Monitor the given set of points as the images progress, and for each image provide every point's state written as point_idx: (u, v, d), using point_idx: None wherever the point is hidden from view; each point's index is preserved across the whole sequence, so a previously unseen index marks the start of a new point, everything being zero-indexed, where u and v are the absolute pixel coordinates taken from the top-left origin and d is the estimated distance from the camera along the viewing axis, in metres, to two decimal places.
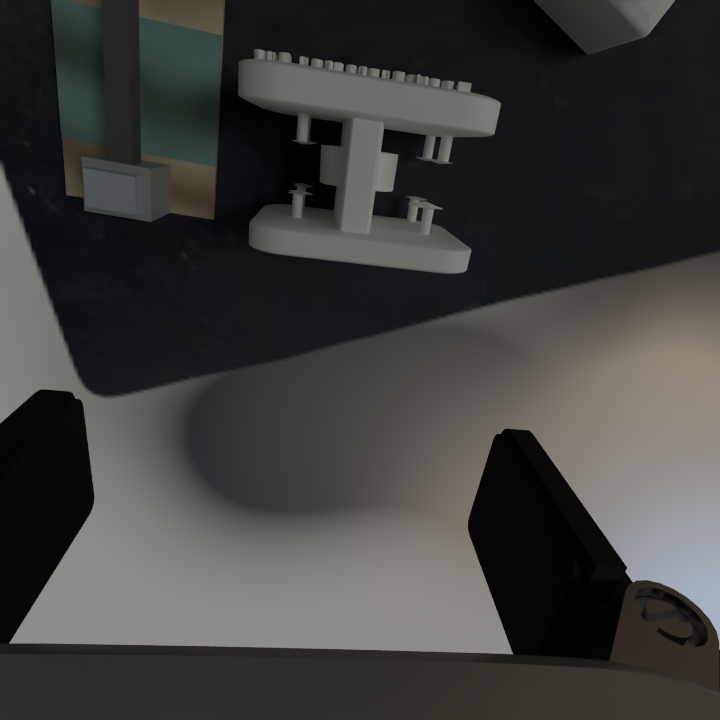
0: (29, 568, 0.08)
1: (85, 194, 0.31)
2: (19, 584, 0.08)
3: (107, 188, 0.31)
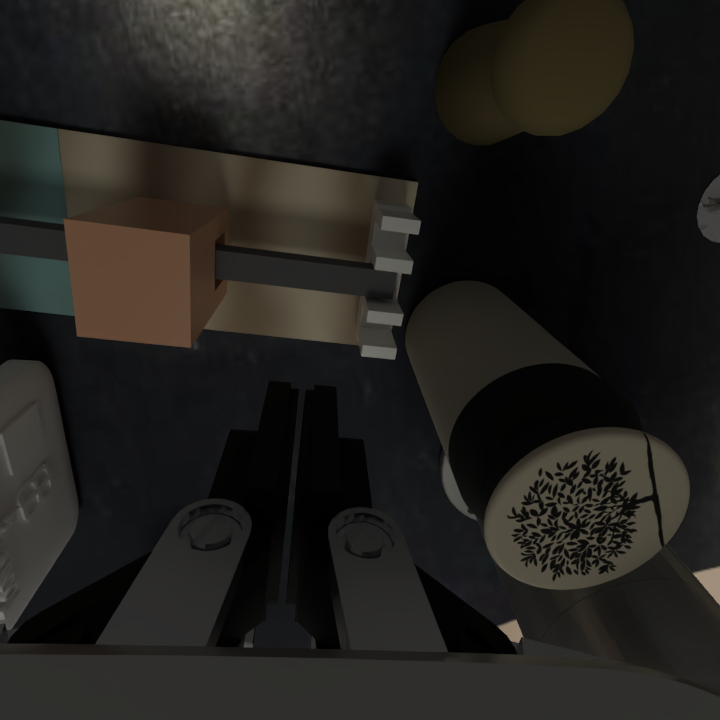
0: None
1: None
2: None
3: None
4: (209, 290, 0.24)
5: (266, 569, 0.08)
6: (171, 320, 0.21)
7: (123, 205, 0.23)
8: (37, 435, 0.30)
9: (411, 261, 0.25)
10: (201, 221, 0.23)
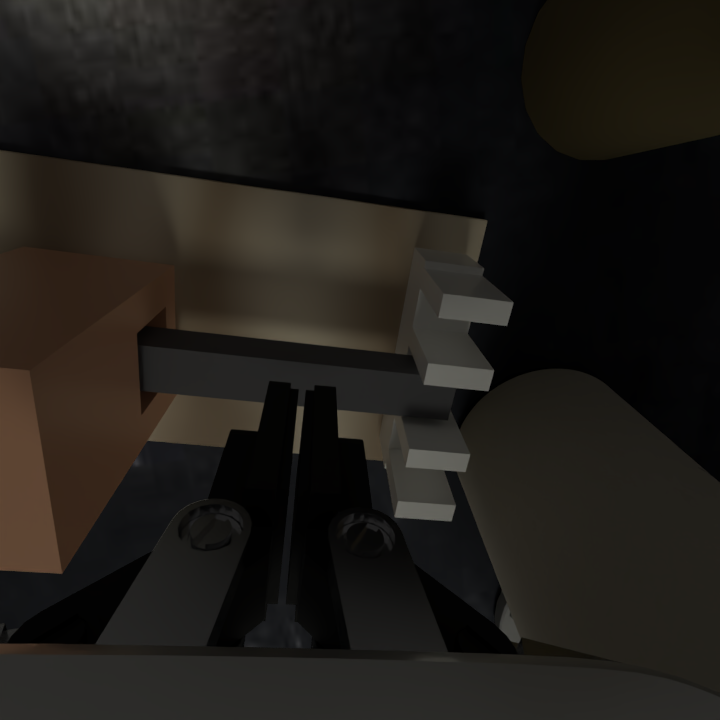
0: None
1: None
2: None
3: None
4: (124, 425, 0.13)
5: (266, 569, 0.08)
6: (14, 528, 0.10)
7: None
8: None
9: (490, 370, 0.14)
10: (96, 310, 0.12)
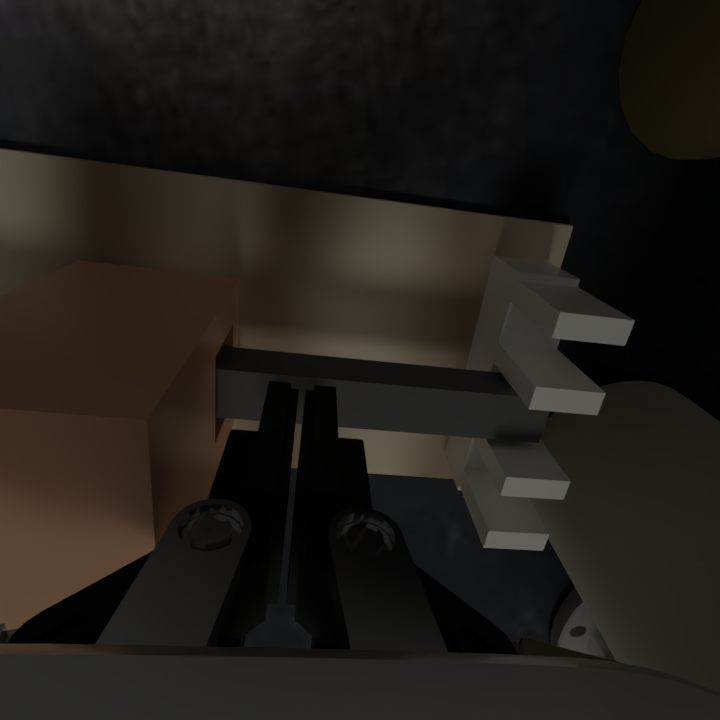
0: None
1: None
2: None
3: None
4: (204, 458, 0.12)
5: (266, 569, 0.08)
6: None
7: (25, 296, 0.11)
8: None
9: (601, 393, 0.13)
10: (185, 337, 0.10)
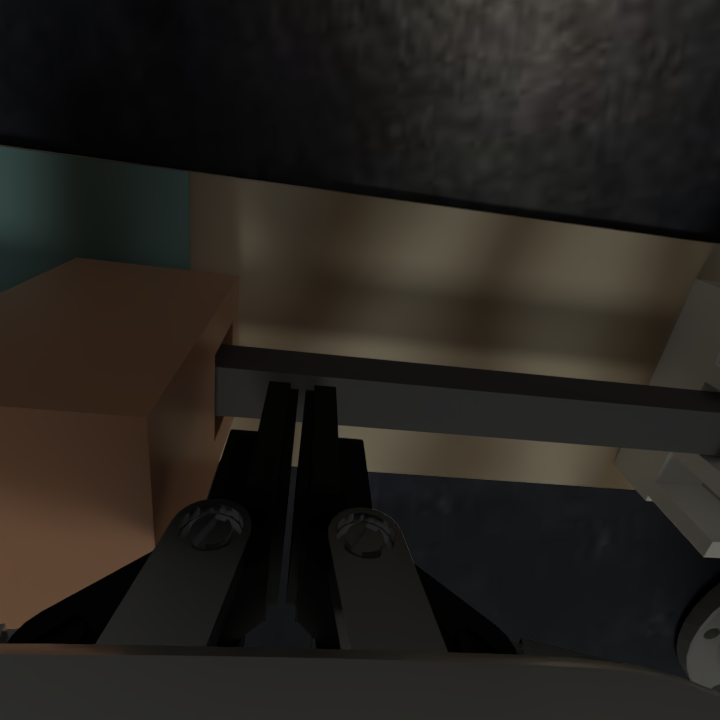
0: None
1: None
2: None
3: None
4: (204, 456, 0.12)
5: (266, 569, 0.08)
6: None
7: (24, 293, 0.11)
8: None
9: None
10: (184, 335, 0.10)
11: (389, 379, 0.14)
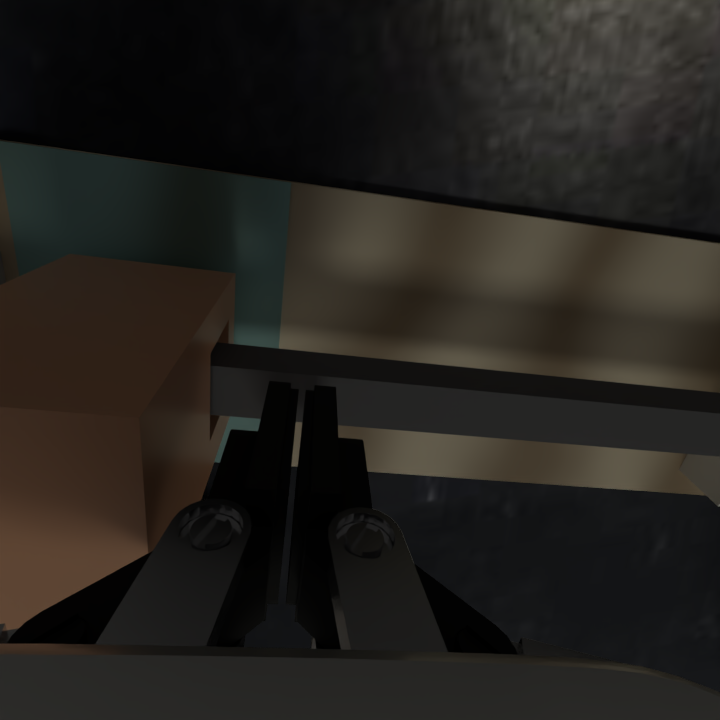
0: None
1: None
2: None
3: None
4: (199, 456, 0.12)
5: (266, 569, 0.08)
6: None
7: (15, 290, 0.11)
8: None
9: None
10: (179, 333, 0.10)
11: (492, 388, 0.14)
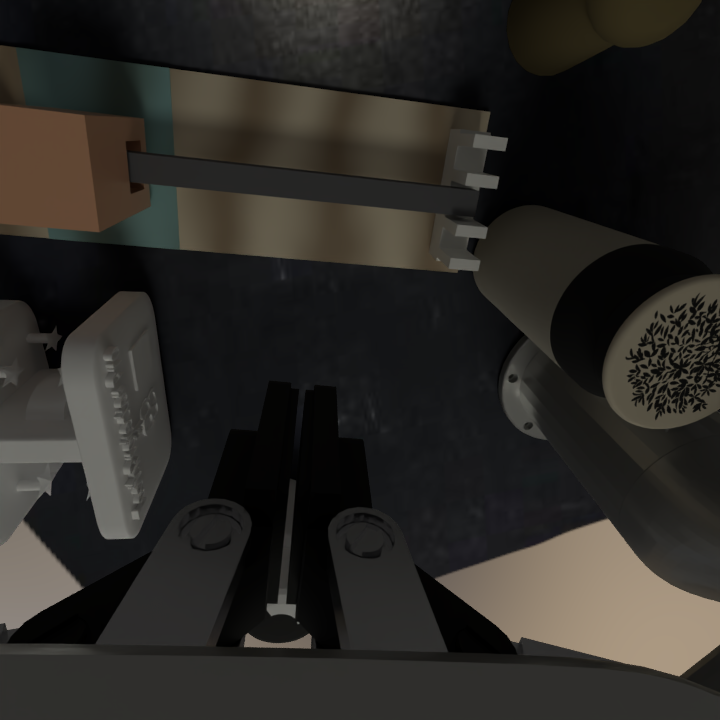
0: None
1: None
2: None
3: None
4: (122, 188, 0.26)
5: (266, 569, 0.08)
6: (77, 204, 0.23)
7: (32, 106, 0.25)
8: (149, 359, 0.33)
9: (497, 176, 0.28)
10: None
11: (275, 168, 0.28)
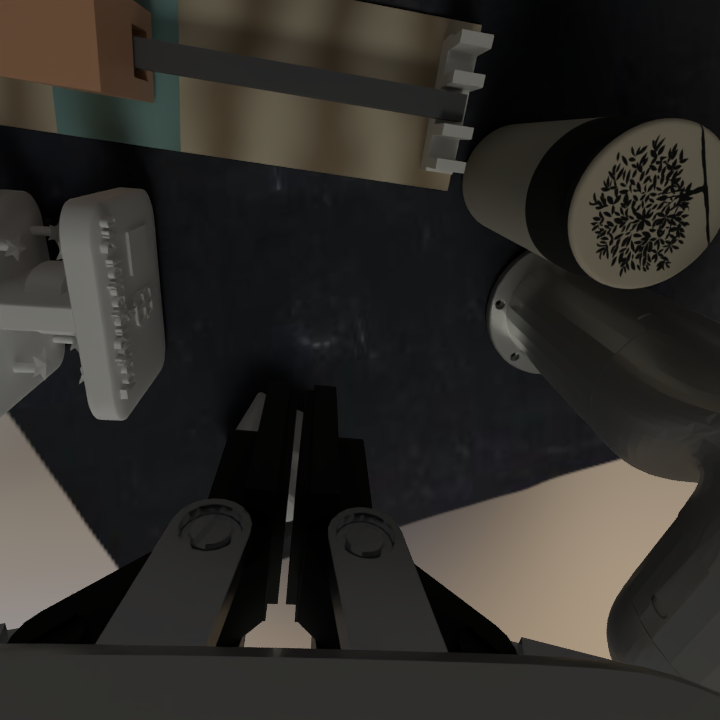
0: None
1: None
2: None
3: None
4: (125, 65, 0.27)
5: (266, 569, 0.08)
6: (81, 61, 0.24)
7: None
8: (146, 253, 0.34)
9: (483, 75, 0.29)
10: None
11: None
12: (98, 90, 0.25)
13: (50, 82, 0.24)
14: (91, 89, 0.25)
